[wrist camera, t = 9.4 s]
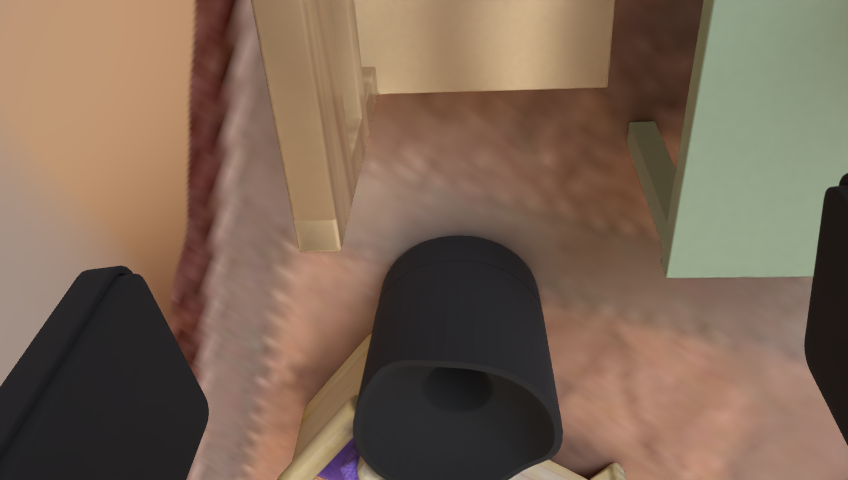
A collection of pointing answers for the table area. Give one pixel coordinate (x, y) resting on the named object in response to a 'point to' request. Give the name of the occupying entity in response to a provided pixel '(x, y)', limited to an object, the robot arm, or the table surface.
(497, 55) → the chair
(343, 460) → the toy sofa
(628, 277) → the table surface
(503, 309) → the pen holder
